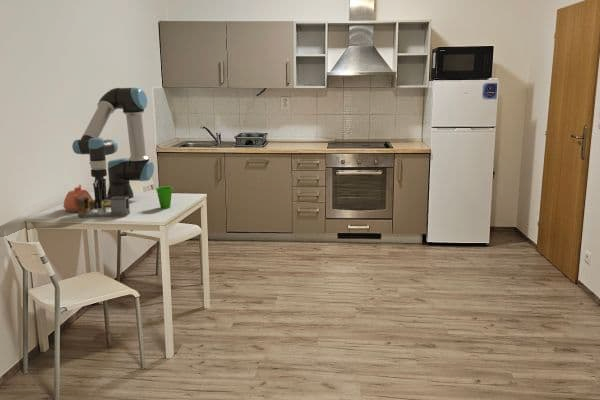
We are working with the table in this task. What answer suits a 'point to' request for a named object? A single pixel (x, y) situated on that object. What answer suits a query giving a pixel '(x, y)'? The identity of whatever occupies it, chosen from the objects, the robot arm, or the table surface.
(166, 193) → the cup
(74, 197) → the teapot
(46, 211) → the table surface
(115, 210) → the sleeve
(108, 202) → the tube
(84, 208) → the socket
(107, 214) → the base board
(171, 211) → the table surface
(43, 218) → the table surface
